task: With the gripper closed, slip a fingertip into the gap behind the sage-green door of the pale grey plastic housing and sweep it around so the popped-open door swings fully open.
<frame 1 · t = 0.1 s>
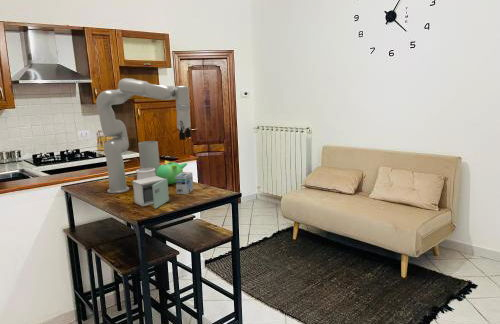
hand: (185, 138, 213), 31 cm above the table, tool pointing down, fingers open, 9 cm apart
cylinder vase: (151, 179, 255), on the table
toy bird: (171, 183, 240), on the table
light bulb box: (185, 192, 219), on the table
jar: (148, 195, 216), on the table
housing: (150, 201, 203), on the table
door: (161, 193, 195), point 6 cm above the table, hinge at 35.0°
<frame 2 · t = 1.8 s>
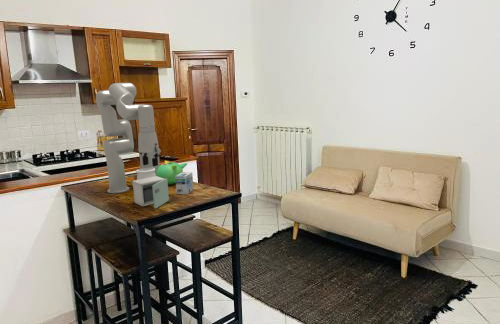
hand: (150, 164, 191), 22 cm above the table, tool pointing down, fingers open, 6 cm apart
nothing on the table moved.
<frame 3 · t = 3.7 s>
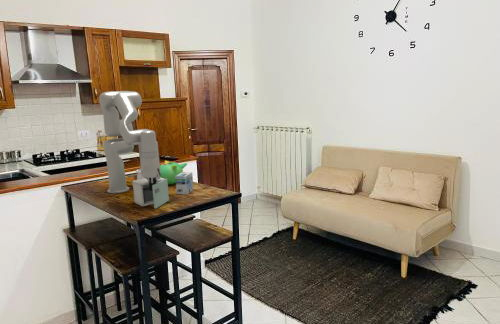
hand: (153, 190, 193), 8 cm above the table, tool pointing down, fingers closed
door: (161, 193, 195), point 6 cm above the table, hinge at 35.1°, touching gripper
everything else where it was.
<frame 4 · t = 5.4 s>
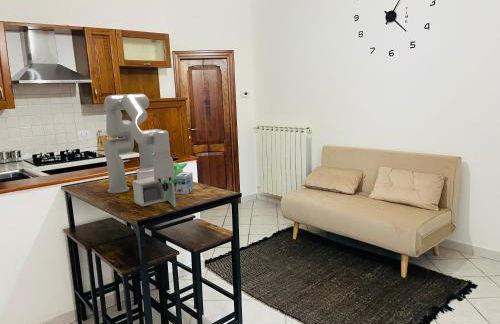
hand: (165, 190, 191), 8 cm above the table, tool pointing down, fingers closed
door: (171, 192, 196), point 6 cm above the table, hinge at 76.5°, touching gripper
everything else where it was.
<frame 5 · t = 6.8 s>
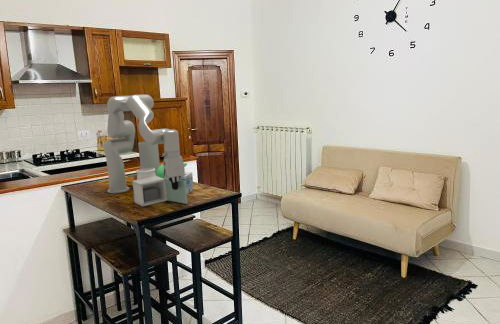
hand: (175, 189, 194), 8 cm above the table, tool pointing down, fingers closed
door: (176, 190, 198), point 6 cm above the table, hinge at 105.5°, touching gripper
everything else where it was.
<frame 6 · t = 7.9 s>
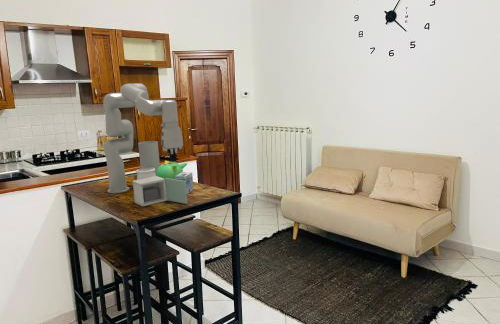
hand: (173, 161, 191), 23 cm above the table, tool pointing down, fingers closed
door: (176, 190, 198), point 6 cm above the table, hinge at 105.6°
everything else where it was.
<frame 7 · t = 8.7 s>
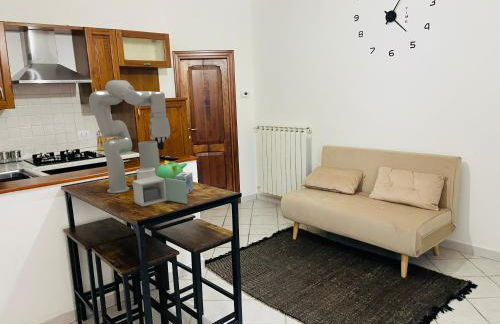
hand: (160, 149, 203), 27 cm above the table, tool pointing down, fingers closed
nothing on the table moved.
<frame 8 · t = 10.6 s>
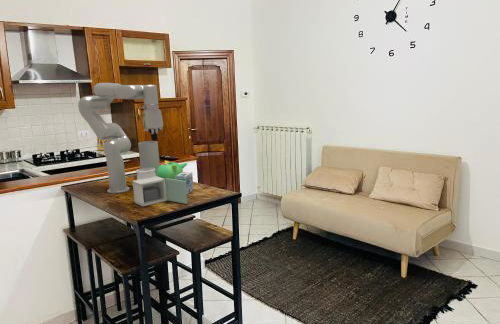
hand: (154, 140, 210), 31 cm above the table, tool pointing down, fingers closed
nothing on the table moved.
at the end: door at +106° (first picture: +35°); jar moved 0.2 cm from its start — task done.
